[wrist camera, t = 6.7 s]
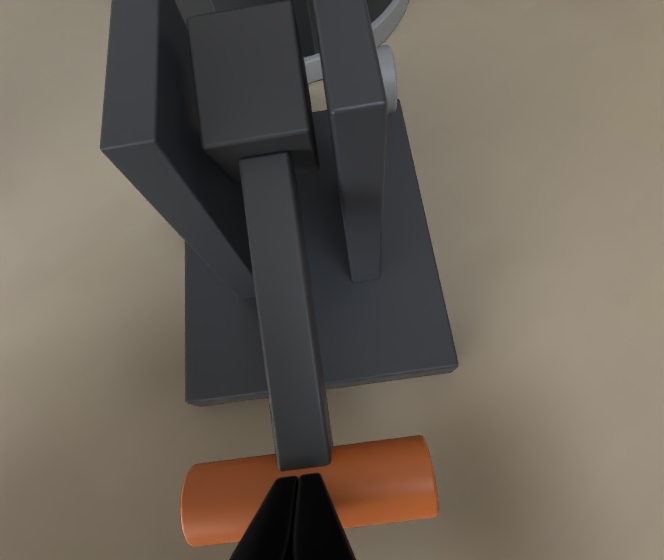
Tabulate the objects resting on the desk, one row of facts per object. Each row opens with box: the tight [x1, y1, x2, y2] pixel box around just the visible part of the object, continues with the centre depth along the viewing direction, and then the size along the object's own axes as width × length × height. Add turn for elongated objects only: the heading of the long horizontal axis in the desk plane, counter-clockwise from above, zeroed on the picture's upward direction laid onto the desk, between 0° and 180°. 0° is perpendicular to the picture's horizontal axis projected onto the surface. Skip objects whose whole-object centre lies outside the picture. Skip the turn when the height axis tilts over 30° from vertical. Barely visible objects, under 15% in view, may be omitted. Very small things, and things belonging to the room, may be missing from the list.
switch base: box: [100, 0, 459, 406], centre depth 13 cm, size 11×9×10 cm
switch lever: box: [180, 0, 439, 547], centre depth 10 cm, size 11×5×2 cm, turn 7°
